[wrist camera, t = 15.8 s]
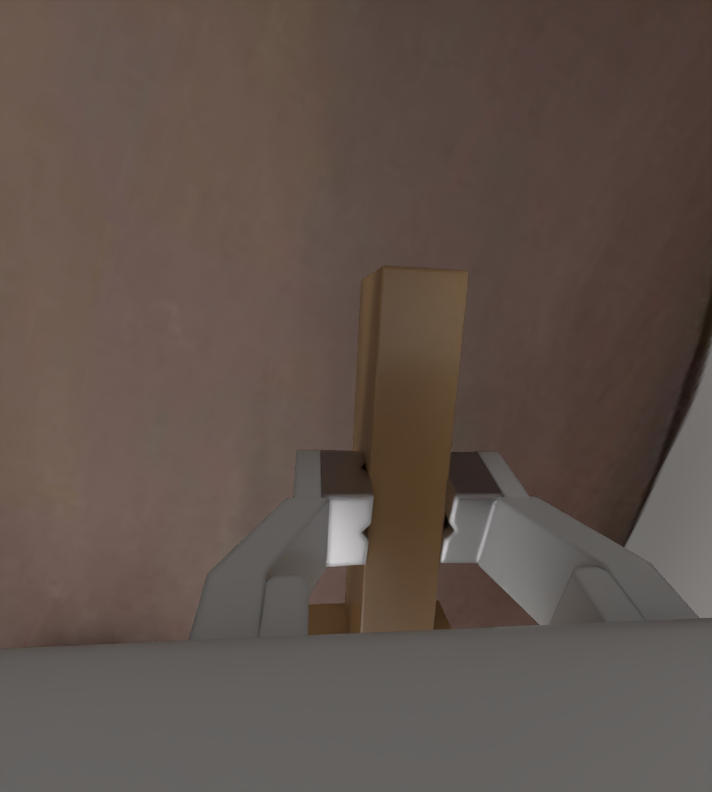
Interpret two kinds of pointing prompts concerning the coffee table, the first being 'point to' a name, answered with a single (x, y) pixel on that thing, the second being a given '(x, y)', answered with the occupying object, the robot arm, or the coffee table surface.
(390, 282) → the fork
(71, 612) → the coffee table surface
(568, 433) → the coffee table surface
